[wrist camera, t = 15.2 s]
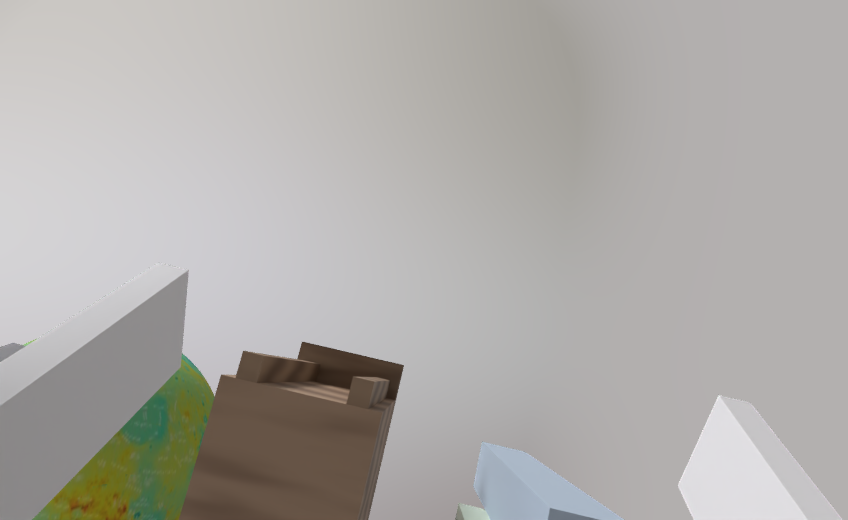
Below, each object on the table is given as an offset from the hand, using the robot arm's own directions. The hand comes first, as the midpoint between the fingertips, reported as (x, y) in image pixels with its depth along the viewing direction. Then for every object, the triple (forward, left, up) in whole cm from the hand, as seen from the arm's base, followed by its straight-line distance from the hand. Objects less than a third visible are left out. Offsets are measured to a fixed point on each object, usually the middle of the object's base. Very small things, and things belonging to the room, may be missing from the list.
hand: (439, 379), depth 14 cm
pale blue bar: (+1, +28, -8) cm, 30 cm away
